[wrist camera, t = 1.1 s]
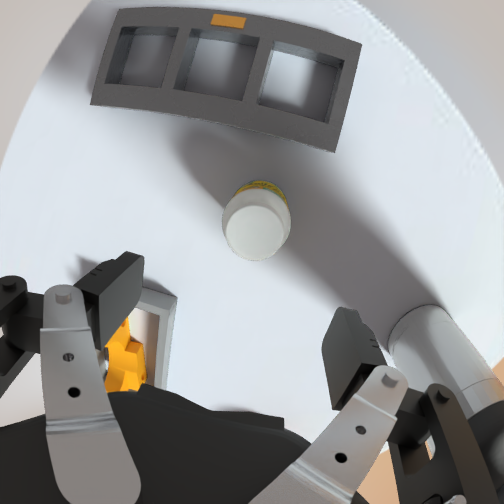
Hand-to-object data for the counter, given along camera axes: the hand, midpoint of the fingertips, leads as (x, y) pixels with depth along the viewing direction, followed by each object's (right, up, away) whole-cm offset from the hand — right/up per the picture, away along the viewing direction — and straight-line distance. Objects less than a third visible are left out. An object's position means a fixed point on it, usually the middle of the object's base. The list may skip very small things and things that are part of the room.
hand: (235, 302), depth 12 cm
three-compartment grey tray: (-2, +20, +13) cm, 24 cm away
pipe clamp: (-16, -10, +26) cm, 32 cm away
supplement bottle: (+1, +7, +18) cm, 19 cm away
